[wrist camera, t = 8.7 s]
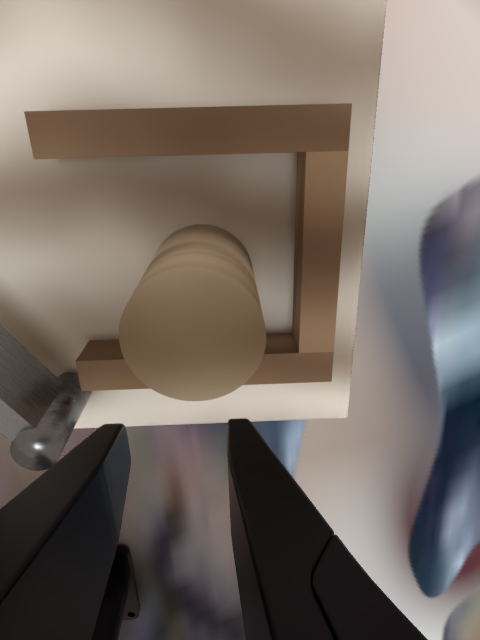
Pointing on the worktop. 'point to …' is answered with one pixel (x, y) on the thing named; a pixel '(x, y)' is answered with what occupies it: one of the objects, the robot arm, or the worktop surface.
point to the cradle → (187, 183)
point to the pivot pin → (195, 317)
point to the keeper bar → (36, 405)
